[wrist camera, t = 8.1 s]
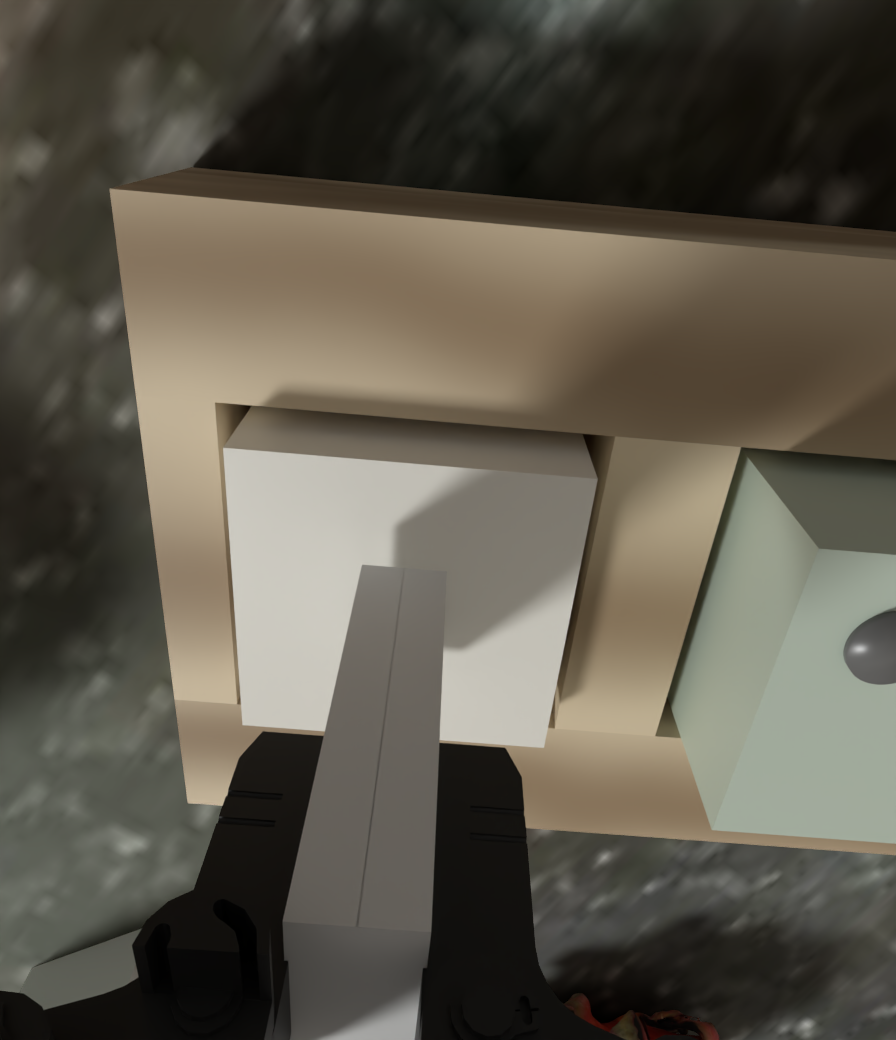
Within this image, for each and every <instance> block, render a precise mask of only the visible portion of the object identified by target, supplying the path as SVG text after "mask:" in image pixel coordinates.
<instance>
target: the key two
mask: <svg viewBox="0 0 896 1040" xmlns="http://www.w3.org/2000/svg"><path fill="white" fill-rule="evenodd" d="M667 697H668V700H669V703H670V706H671V709H672V712H673V715H674V718H675V721H676V724H677V727H678V730H679V733H680V736H681V739H682V742H683V745H684V748H685V751H686V754H687V757H688V760H689V763H690V766H691V769H692V772H693V775H694V778H695V781H696V784H697V787H698V790H699V793H700V796H701V799H702V802H703V805H704V808H705V811H706V814H707V817H708V820H709V823H710V826H711V829H712V830H717V831H730V832H744V833H757V834H771V835H785V836H798V837H812V838H825V839H839V840H852V841H866V842H879V843H893V844H896V460H887V459H875V458H864V457H852V456H840V455H828V454H817V453H805V452H793V451H781V450H770V449H758V448H746V447H741V450H740V453H739V457H738V460H737V463H736V467H735V470H734V473H733V477H732V480H731V483H730V487H729V490H728V493H727V497H726V500H725V504H724V507H723V510H722V514H721V517H720V520H719V524H718V527H717V530H716V534H715V537H714V540H713V544H712V547H711V551H710V554H709V557H708V561H707V564H706V567H705V571H704V574H703V577H702V581H701V584H700V587H699V591H698V594H697V598H696V601H695V604H694V608H693V611H692V614H691V618H690V621H689V624H688V628H687V631H686V634H685V638H684V641H683V645H682V648H681V651H680V655H679V658H678V661H677V665H676V668H675V671H674V675H673V678H672V681H671V685H670V688H669V692H668V695H667Z"/></svg>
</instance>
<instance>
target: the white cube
mask: <svg viewBox="0 0 896 1040" xmlns="http://www.w3.org/2000/svg"><path fill="white" fill-rule="evenodd" d="M140 931H141V929H139V930H136V931H133V932H130V933H128V934H125V935H122V936H119V937H117V938H114V939H111V940H108V941H105V942H103V943H100V944H97V945H94V946H91V947H89V948H86V949H83V950H80V951H78V952H75V953H72V954H69V955H66V956H64V957H61V958H58V959H55V960H52V961H50V962H47V963H44V964H41V965H39V966H36V967H33V968H32V969H31V971H30V973H29V975H28V977H27V979H26V981H25V983H24V985H23V987H22V989H21V991H20V993H24V994H25V995H27V996H28V997H30V998H31V999H32V1000H34V1001H35V1002H37V1003H38V1004H39V1005H41V1006H42V1007H43V1010H45V1009H49V1008H53V1007H56V1006H60V1005H64V1004H67V1003H71V1002H75V1001H79V1000H82V999H86V998H90V997H94V996H97V995H101V994H104V993H107V992H110V991H112V990H115V989H118V988H120V987H123V986H125V985H127V984H128V983H130V982H132V981H133V980H135V979H137V978H138V972H137V967H136V963H135V958H134V953H133V949H132V944H133V942H134V941H135V939H136V937H137V936H138V934H139V932H140Z"/></svg>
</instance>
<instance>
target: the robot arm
mask: <svg viewBox="0 0 896 1040" xmlns="http://www.w3.org/2000/svg"><path fill="white" fill-rule="evenodd" d="M446 578H447V571H435V570H423V569H410V568H398V567H386V566H373V565H362V567H361V571H360V576H359V580H358V585H357V589H356V594H355V598H354V603H353V607H352V612H351V616H350V621H349V625H348V630H347V634H346V639H345V643H344V648H343V652H342V657H341V661H340V666H339V670H338V675H337V679H336V684H335V688H334V693H333V697H332V702H331V706H330V711H329V715H328V720H327V724H326V729H325V733H324V736H319V735H306V734H292V733H279V732H266V731H263V732H262V733H261V734H260V735H259V736H258V737H257V738H256V739H255V741H254V742H253V743H252V744H251V745H250V746H249V747H248V748H247V749H246V751H245V752H244V753H243V754H242V755H241V756H240V757H239V759H238V762H237V765H236V768H235V771H234V774H233V777H232V780H231V783H230V786H229V789H228V795H227V796H226V797H225V800H224V803H223V806H222V809H221V812H220V815H219V821H218V823H217V824H216V827H215V829H214V832H213V835H212V838H211V841H210V844H209V847H208V850H207V853H206V856H205V859H204V862H203V865H202V867H201V870H200V873H199V876H198V879H197V882H196V885H195V888H194V890H193V891H190V892H188V893H186V894H184V895H181V896H179V897H177V898H175V899H173V900H170V901H168V902H167V903H166V904H165V905H164V906H163V907H162V908H160V909H159V910H158V911H157V912H156V913H155V914H154V915H152V916H151V917H150V918H149V919H148V920H147V921H146V922H145V924H144V926H143V927H142V929H141V931H140V932H139V934H138V936H137V937H136V939H135V941H134V942H133V944H132V949H133V953H134V958H135V963H136V967H137V972H138V978H137V979H135V980H133V981H132V982H130V983H128V984H127V985H125V986H123V987H120V988H118V989H115V990H112V991H110V992H107V993H104V994H101V995H97V996H94V997H90V998H86V999H82V1000H79V1001H75V1002H71V1003H67V1004H64V1005H60V1006H56V1007H53V1008H49V1009H45V1010H43V1007H42V1006H41V1005H39V1004H38V1003H37V1002H35V1001H34V1000H32V999H31V998H30V997H28V996H27V995H25V994H24V993H15V992H6V991H0V1040H626V1039H624V1038H621V1037H619V1036H617V1035H614V1034H612V1033H610V1032H608V1031H605V1030H603V1029H601V1028H599V1027H596V1026H594V1025H592V1024H591V1023H589V1022H587V1021H585V1020H584V1019H582V1018H580V1017H578V1016H577V1015H575V1014H574V1013H573V1012H572V1011H571V1010H570V1009H568V1008H567V1007H566V1006H565V1005H564V1004H563V1003H562V1002H561V1001H560V1000H559V999H558V998H557V996H556V995H555V994H554V992H553V991H552V989H551V988H550V987H549V985H548V984H547V982H546V980H545V978H544V975H543V973H542V971H541V969H540V966H539V963H538V958H537V953H536V948H535V937H534V924H533V912H532V899H531V887H530V874H529V861H528V849H527V844H526V837H527V836H526V823H525V816H524V798H523V785H522V776H521V775H520V773H519V771H518V769H517V767H516V766H515V764H514V762H513V760H512V759H511V757H510V755H509V753H508V751H507V750H506V748H503V747H490V746H477V745H464V744H451V743H439V740H440V717H441V694H442V671H443V647H444V624H445V601H446ZM655 1040H698V1039H696V1038H693V1037H691V1036H687V1035H663V1036H661V1037H659V1038H657V1039H655Z"/></svg>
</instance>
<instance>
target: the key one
mask: <svg viewBox="0 0 896 1040" xmlns="http://www.w3.org/2000/svg"><path fill="white" fill-rule="evenodd" d="M223 455H224V469H225V483H226V498H227V512H228V526H229V540H230V554H231V569H232V583H233V597H234V611H235V626H236V640H237V654H238V668H239V683H240V697H241V711H242V725H247V726H260V727H273V728H287V729H300V730H313V731H325V729H326V724H327V720H328V715H329V711H330V706H331V702H332V697H333V693H334V688H335V684H336V679H337V675H338V670H339V666H340V661H341V657H342V652H343V648H344V643H345V639H346V634H347V630H348V625H349V621H350V616H351V612H352V607H353V603H354V598H355V594H356V589H357V585H358V580H359V576H360V571H361V567H362V565H373V566H386V567H398V568H410V569H423V570H435V571H447V578H446V601H445V624H444V647H443V671H442V694H441V717H440V740H445V741H458V742H471V743H485V744H498V745H511V746H524V747H537V748H544V745H545V740H546V735H547V730H548V725H549V720H550V715H551V710H552V705H553V700H554V695H555V690H556V685H557V680H558V675H559V670H560V665H561V660H562V655H563V650H564V645H565V640H566V635H567V630H568V625H569V620H570V615H571V610H572V605H573V600H574V595H575V590H576V585H577V580H578V575H579V570H580V565H581V560H582V555H583V550H584V545H585V540H586V535H587V530H588V525H589V520H590V516H591V511H592V506H593V501H594V496H595V491H596V486H597V481H598V478H597V475H596V472H595V469H594V467H593V464H592V461H591V458H590V455H589V452H588V449H587V446H586V443H585V440H584V437H583V434H581V433H569V432H558V431H546V430H534V429H522V428H511V427H499V426H487V425H475V424H463V423H452V422H440V421H428V420H416V419H405V418H393V417H381V416H369V415H357V414H346V413H334V412H322V411H310V410H299V409H287V408H275V407H263V406H251V408H250V409H249V411H248V412H247V414H246V415H245V417H244V418H243V419H242V421H241V422H240V424H239V425H238V427H237V428H236V430H235V431H234V433H233V434H232V435H231V437H230V438H229V440H228V441H227V443H226V444H225V446H224V447H223Z"/></svg>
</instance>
